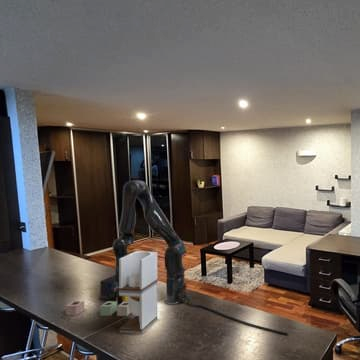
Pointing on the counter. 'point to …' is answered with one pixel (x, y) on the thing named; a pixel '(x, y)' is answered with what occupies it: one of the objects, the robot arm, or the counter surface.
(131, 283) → the white shelf unit
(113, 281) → the small box
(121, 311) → the cream block
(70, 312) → the blush block
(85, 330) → the counter surface
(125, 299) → the mustard block
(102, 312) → the sage block
